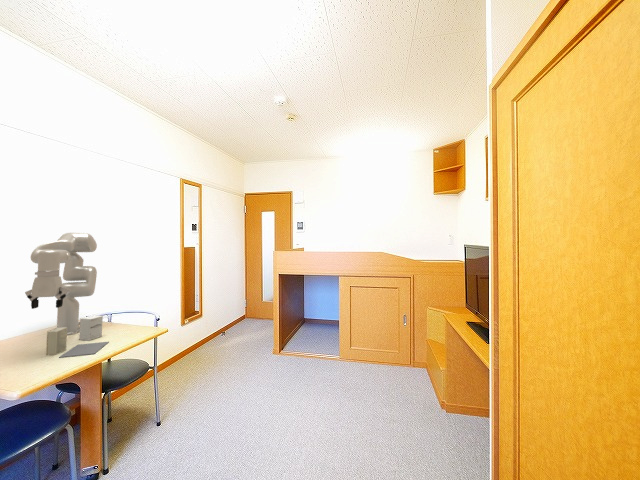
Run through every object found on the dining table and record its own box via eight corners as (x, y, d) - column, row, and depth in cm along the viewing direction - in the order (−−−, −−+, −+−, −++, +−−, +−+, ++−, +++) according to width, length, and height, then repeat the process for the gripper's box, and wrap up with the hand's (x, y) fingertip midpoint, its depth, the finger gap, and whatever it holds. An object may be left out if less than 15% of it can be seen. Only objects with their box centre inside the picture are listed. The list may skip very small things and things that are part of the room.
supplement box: (88, 341, 141) (89, 319, 141) (78, 339, 143) (79, 318, 143) (102, 336, 148) (103, 315, 149) (92, 335, 150) (93, 314, 150)
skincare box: (57, 350, 128) (58, 327, 129) (66, 350, 129) (67, 327, 129) (45, 355, 122) (46, 331, 123) (54, 355, 123) (56, 331, 123)
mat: (77, 345, 135) (77, 344, 135) (108, 342, 140) (109, 341, 140) (58, 358, 120) (58, 357, 120) (94, 354, 125) (94, 353, 125)
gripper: (20, 275, 119) (18, 310, 118) (64, 274, 124) (62, 308, 123) (33, 273, 126) (31, 306, 126) (74, 273, 131) (73, 305, 130)
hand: (47, 307), depth 124 cm, fingers open, 9 cm apart
